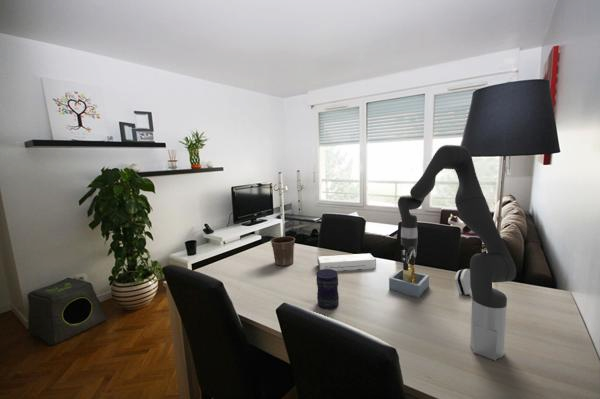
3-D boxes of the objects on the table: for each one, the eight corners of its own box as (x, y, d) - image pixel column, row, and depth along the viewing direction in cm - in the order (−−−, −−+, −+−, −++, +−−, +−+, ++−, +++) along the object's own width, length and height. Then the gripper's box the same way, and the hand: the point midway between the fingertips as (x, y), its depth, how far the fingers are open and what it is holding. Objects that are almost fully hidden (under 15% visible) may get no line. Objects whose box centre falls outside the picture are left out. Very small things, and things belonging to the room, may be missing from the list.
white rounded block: (471, 297, 121) (463, 276, 123) (460, 297, 125) (452, 277, 126) (478, 284, 134) (471, 265, 135) (468, 285, 137) (461, 266, 138)
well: (418, 298, 123) (419, 285, 122) (389, 289, 133) (389, 278, 132) (428, 286, 134) (429, 275, 133) (400, 279, 143) (400, 268, 143)
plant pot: (269, 260, 181) (268, 237, 179) (292, 257, 186) (291, 234, 184) (274, 269, 166) (273, 244, 164) (299, 265, 171) (298, 241, 168)
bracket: (411, 289, 130) (411, 269, 129) (403, 287, 133) (403, 267, 131) (414, 285, 134) (415, 266, 132) (406, 283, 136) (407, 264, 135)
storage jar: (314, 301, 125) (312, 271, 123) (332, 297, 128) (331, 267, 126) (323, 312, 116) (321, 279, 114) (343, 306, 119) (342, 275, 117)
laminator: (319, 272, 158) (319, 262, 157) (317, 265, 170) (317, 255, 170) (376, 269, 159) (375, 259, 159) (369, 261, 172) (369, 252, 171)
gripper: (411, 240, 122) (411, 274, 124) (422, 233, 132) (421, 264, 134) (395, 238, 127) (395, 270, 129) (406, 231, 137) (406, 261, 139)
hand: (409, 267), depth 132 cm, fingers open, 8 cm apart
